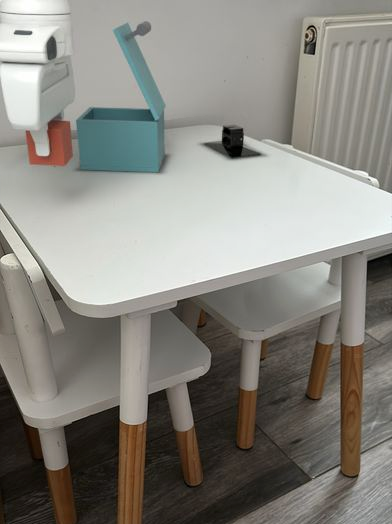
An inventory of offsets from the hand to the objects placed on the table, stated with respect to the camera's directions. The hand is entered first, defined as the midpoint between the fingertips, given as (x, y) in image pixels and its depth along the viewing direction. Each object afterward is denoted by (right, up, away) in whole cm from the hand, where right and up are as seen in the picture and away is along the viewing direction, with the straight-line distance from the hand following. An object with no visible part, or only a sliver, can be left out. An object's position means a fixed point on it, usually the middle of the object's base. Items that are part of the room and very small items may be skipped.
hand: (50, 148), depth 80 cm
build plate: (+28, +14, +38) cm, 50 cm away
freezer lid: (+11, +21, +20) cm, 31 cm away
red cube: (0, -1, +1) cm, 2 cm away
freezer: (+7, +8, +29) cm, 31 cm away
